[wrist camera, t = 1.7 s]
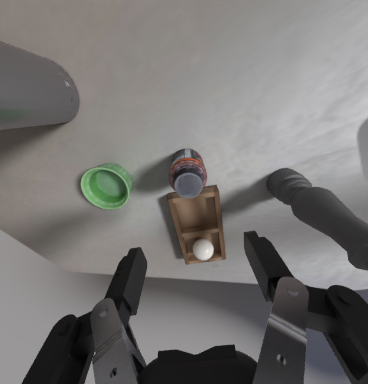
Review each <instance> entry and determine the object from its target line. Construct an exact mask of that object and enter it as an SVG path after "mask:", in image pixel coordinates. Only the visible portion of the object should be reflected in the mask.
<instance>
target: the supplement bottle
mask: <svg viewBox="0 0 368 384" xmlns="http://www.w3.org/2000/svg"><path fill="white" fill-rule="evenodd" d="M169 182H170V185H171V187H172V188H173V189H174V190H175V191H176V193H177V194H178V195H179V196H181V197H183V198H186V199H190V198H194V197H196V196H198V195H199V194H200V193H201V191H202V189H203V188H204V187H205V185H206V182H207V173H206V169H205V166H204V164H203V161H202V158H201V156H200V155H199V154H198V153H197V152H196V151H194V150H192V149H182V150H180V151H179V152H177V153H176V154H175V156H174V158H173V161H172V165H171V169H170V173H169Z"/></svg>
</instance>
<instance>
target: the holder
mask: <svg viewBox="0 0 368 384" xmlns="http://www.w3.org/2000/svg"><path fill="white" fill-rule="evenodd" d="M168 203H169V207H170V211H171V214H172V218H173V221H174V225H175V228H176V232H177V235H178V239H179V242H180V246H181V249H182V253H183V257H184V260H185V264H194V263H202V262H209V261H217V260H224V259H226V254H225V244H224V234H223V225H222V215H221V205H220V196H219V190H218V188H217V185H212V186H206V187H204V188H203V189H202V191H201V193H200V194H199V195H198V196H196V197H194V198H190V199H186V198H183V197H181V196H179V195H178V194H177V193H176V192H172V193H169V194H168ZM201 238H204V239H207V240H209V241H210V242H211V243H212V245H213V248H214V252H213V255H212V257H211V258H210V259H208V260H204V261H203V260H199V259H198V258H196V257H195V255H194V253H193V245H194V243H195V242H196V241H197V240H198V239H201Z"/></svg>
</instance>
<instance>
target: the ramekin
mask: <svg viewBox="0 0 368 384" xmlns="http://www.w3.org/2000/svg"><path fill="white" fill-rule="evenodd" d="M132 187H133V182H132V178H131V176H130V174H129V173H128V172H127V171H126V170H125V169H124V168H123V167H121V166H119V165H117V164H112V163H106V164H103V165H100V166H98V167H95V168H92V169H90V170H88V171H87V172H85V173H84V175H83V176H82V179H81V189H82V192H83V194H84V196H85V197H86V198H87V199H88V200H89V201H90V202H91V203H92V204H94V205H95V206H97V207H99V208H102V209H107V210H114V209H118V208H121V207H122V206H124V205H125V204H126V203H127V201H128V199H129V196H130V192H131V190H132Z"/></svg>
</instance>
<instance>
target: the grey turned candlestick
mask: <svg viewBox="0 0 368 384" xmlns="http://www.w3.org/2000/svg"><path fill="white" fill-rule="evenodd" d="M267 188H268V191H270V192H271V193H272V194H273V195H274V196H275V197H276V198H277V199H278V200H279V201H282V202H283V203H284V204H287V205H291V208H292V211H293V214H294V215H295V216H296V217H297V218H298V219H299V220H301V221H302V222H304V223H306V224H308V225H310V226H311V227H313V228H315V229H317V230H318V231H320V232H322V233H324V234H326V235H327V236H329V237H331V238H332V239H333V240H334V241H335V242H337V243H338V244H339V245H340V246H341V247H342V248H344V249H345V250H346V251H347V254H348V260H349V262H350V263H351V264H352V265H353V266H354V267H356V268H358V269H363V270H368V224H367V223H365V222H364V221H362V220H361V219H359V218H357V217H356V216H355V215H354V214H353V213H352V212H351V211H350V210H349V209H348V208H347V207H346V206H345V205H344V204H343V203H342V202H341V201H340V200H339V199H338V198H337V197H336V196H335V195H334V194H333V193H332V192H331V191H330V190H328V189H324V188H320V187H312V185H311V183H310V182H309V181H308V180H307V179H306V178H305V177H304V176H303V175H301V174H299V173H298V172H296V171H294V170H292V169H289V168H283V169H279V170H277V171H275V172H274V173H273V174H272V175H271V176H270V177H269V179H268V181H267Z"/></svg>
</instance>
